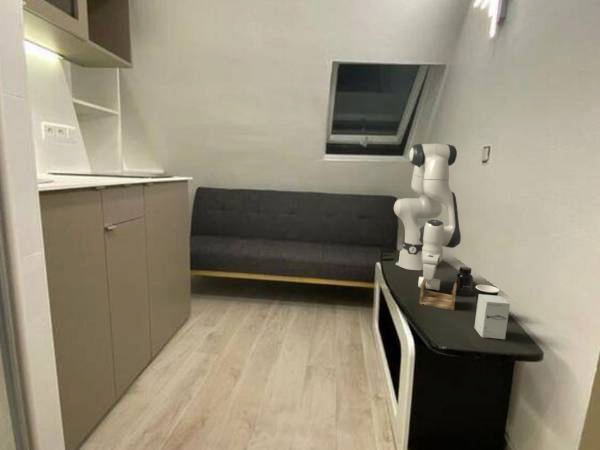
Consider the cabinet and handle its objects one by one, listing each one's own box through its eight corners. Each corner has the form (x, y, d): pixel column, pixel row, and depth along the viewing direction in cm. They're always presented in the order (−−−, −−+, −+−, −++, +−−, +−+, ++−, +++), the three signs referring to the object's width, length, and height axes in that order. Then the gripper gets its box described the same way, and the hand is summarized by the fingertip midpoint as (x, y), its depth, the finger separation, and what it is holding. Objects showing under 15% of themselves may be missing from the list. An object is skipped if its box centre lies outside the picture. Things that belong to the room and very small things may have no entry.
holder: (419, 303, 140) (420, 284, 139) (422, 296, 149) (423, 278, 148) (453, 310, 135) (456, 290, 134) (454, 301, 144) (456, 283, 143)
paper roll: (417, 288, 159) (418, 278, 158) (419, 285, 164) (419, 275, 163) (438, 292, 155) (439, 281, 154) (439, 288, 160) (440, 278, 159)
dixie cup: (471, 316, 129) (474, 288, 127) (473, 309, 136) (476, 283, 134) (495, 322, 125) (499, 293, 123) (496, 314, 132) (500, 287, 130)
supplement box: (481, 338, 113) (486, 301, 111) (473, 327, 120) (478, 293, 118) (505, 340, 112) (510, 303, 110) (496, 330, 119) (501, 295, 117)
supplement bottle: (465, 297, 149) (468, 271, 147) (450, 292, 155) (453, 267, 153) (474, 294, 153) (477, 268, 151) (459, 290, 158) (462, 265, 157)
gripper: (427, 250, 167) (424, 277, 170) (421, 259, 149) (419, 290, 151) (440, 252, 165) (438, 279, 167) (437, 261, 147) (434, 292, 149)
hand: (429, 284), depth 159 cm, fingers closed on paper roll, 5 cm apart
